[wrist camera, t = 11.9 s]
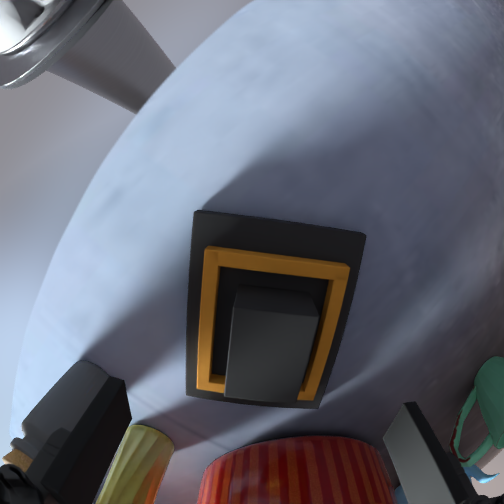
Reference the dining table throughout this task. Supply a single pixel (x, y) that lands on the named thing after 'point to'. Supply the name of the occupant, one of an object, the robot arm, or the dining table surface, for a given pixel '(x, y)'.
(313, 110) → the dining table surface
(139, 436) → the vase
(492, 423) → the mug
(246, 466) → the planter
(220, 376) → the base
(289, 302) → the black rectangular block
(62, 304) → the dining table surface
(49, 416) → the bottle
